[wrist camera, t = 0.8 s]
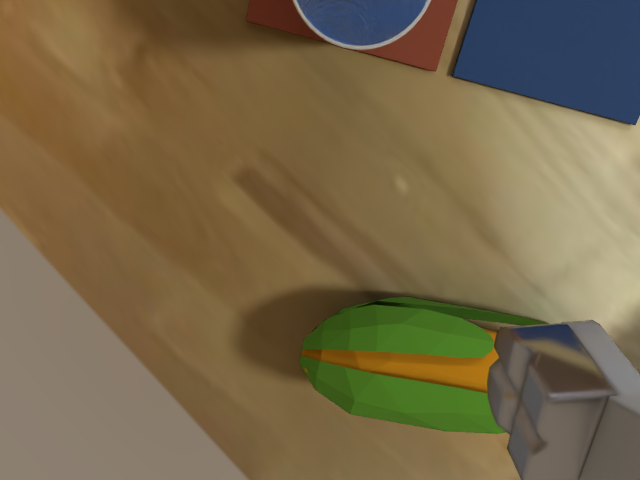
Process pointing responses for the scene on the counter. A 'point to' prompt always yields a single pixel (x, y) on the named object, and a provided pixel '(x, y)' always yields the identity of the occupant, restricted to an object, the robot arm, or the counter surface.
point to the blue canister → (361, 20)
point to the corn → (408, 362)
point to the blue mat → (558, 52)
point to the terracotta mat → (413, 48)
